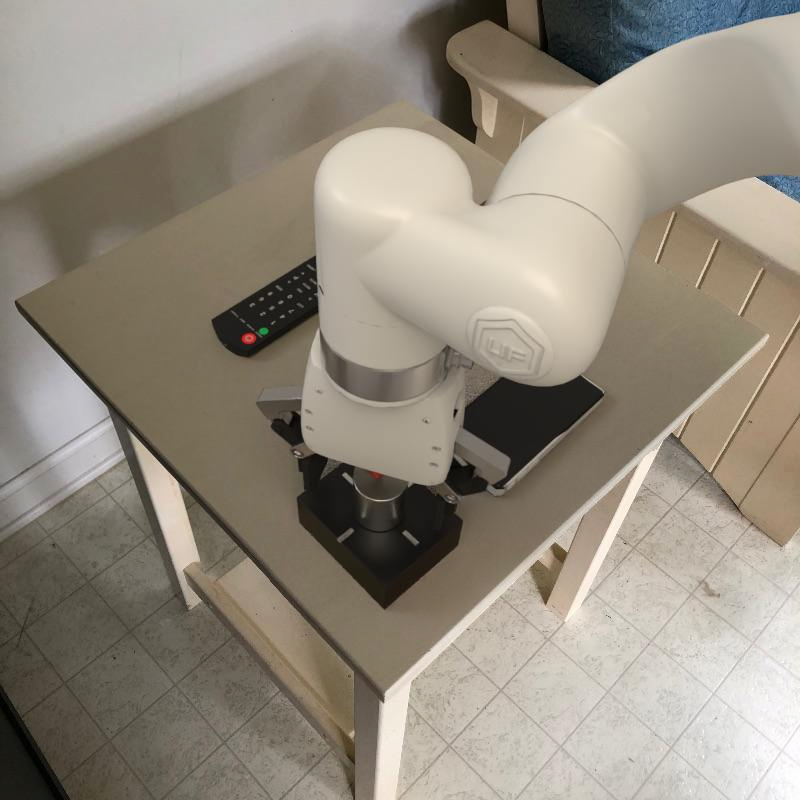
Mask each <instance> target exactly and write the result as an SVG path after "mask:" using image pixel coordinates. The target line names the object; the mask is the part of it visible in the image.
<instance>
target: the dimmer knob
mask: <svg viewBox="0 0 800 800" xmlns="http://www.w3.org/2000/svg"><path fill="white" fill-rule="evenodd" d="M408 482H409V481H405V480H401V479H398V478H394V477H391V476H387V475H384V474H380V473H377V472H373V471H370V470H367V469H363V468H360V467H357V466H356V467H355V469H354V472H353V513H354V516H355V518H356V520H357V521H358V522H359V523H360V524H361V525H362V526H363V527H365V528H367V529H369V530H372V531H378V532H381V531H387V530H390V529H393V528H394V527H396V526H397V525H399V524H400V523H401V521H402V520H403V518H404V516H405V513H406V503H407V493H408Z"/></svg>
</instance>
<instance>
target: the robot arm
mask: <svg viewBox="0 0 800 800" xmlns="http://www.w3.org/2000/svg"><path fill="white" fill-rule="evenodd" d="M764 176H789V177H797V178H800V11H798V12H794V13H788V14H783V15H776V16H769V17H765V18H759V19H755V20H752V21H749V22H746V23H745V22H744V23H742V24H738V25H735V26H734V25H733V26H730V27H728V28H723V29H720V30H716V31H715V30H714V31H711V32H707V33H704V34H701V35H696V36H693V37H690V38H687V39H684V40H681V41H679V42H676V43H674V44H672V45H670V46H667V47H664V48H663V49H660V50H658V51H657V52H654V53H652V54H650V55H648V56H646V57H644V58H642V59H641V60H640V61H637V62H635V63H634V64H632V65H631V66H629V67H627V68H626V69H624V70H622V71H620V72H618V73H617V74H615V75H614V76H612V77H611V78H609V79H607V80H606V81H604V82H603V83H601V84H600V85H598V86H596V87H595V88H593V89H591V90H590V91H587V93H585V94H583V95H581V96H580V97H578V98H577V99H575V100H574V101H572V102H570V103H569V104H567V105H565V106H564V107H563V108H561V109H559V110H558V111H556V112H555V113H553V114H552V115H550V116H549V117H548V118H547V119H545V120H544V121H542V122H541V124H539V125H538V126H537V127H535V129H533V130H532V131H531V132H530V133H529V134H528V135H527V136H526V137H525V138H524V139H523V140H522V141H521V143H520V144H519V145H518V146H517V148H516V149H515V150H514V151H513V153H512V154H511V155H510V158H509V159H508V161H507V162H506V164H505V166H504V167H503V169H502V170H501V172H500V174H499V176H498V177H497V180H496V182H495V183H494V185H493V187H492V189H491V190H490V193H489V195H488V197H487V199H486V200H487V201H486V200H485V201H486V203H485V205H484V206H480V204H478V203H476V202H475V200H474V188H473V181H472V178H471V175H470V171H469V169H468V166H467V165H466V163H465V161H464V160H463V158H461V156H460V155H459V154H458V152H457V151H456V150H454V148H453V147H452V146H451V145H449V144H448V143H446V142H445V141H443V140H442V139H440V138H437V137H436V136H433V135H431V134H430V133H427V132H423V131H421V130H416V129H412V128H407V127H398V126H384V127H374V128H370V129H366V130H362V131H359V132H356V133H353V134H351V135H348V136H346V137H345V138H344V139H342V140H340V141H339V142H337V143H336V144H335V145H334V146H333V147H331V149H330V150H329V151H328V152H327V153H326V155H325V156H324V157H323V158H322V160H321V163H320V164H319V167H318V168H317V171H316V173H315V179H314V183H313V185H314V186H313V215H314V216H313V217H314V238H315V240H314V241H315V255H316V264H317V286H318V306H319V310H318V326H319V327H318V328H317V330H316V333H315V335H314V339H313V341H312V344H311V348H310V349H309V350H310V351H309V354H308V360H307V362H306V368H305V372H304V373H305V374H304V380H303V384H300V385H285V386H268V387H263V388H262V390H261V392H260V393H259V395H258V397H257V400H256V401H255V405H256V407H257V408H258V410H259V411H260V412H261V414H262V415H263V416H264V417H265V418H266V420H268V421H269V422H271V424H270V428H271V430H272V431H273V432H274V433H275V434H277V435H278V436H279V437H280V438H281V439H282V440H283V441H285V442H286V443H287V444H289V445H290V448H289V450H288V451H289V453H290V455H291V456H293V457H294V458H296V459H297V468H298V472H299V473H302V479H303V480H302V481H303V490H304V491H310V492H312V490H313V491H315V489H316V487H317V484H318V482H319V480H320V479H322V475H323V473H324V471H325V468H326V466H327V464H328V460H329V459H331V460H333V461H337V462H341V463H347V464H350V465H353V466H357V467H360V468H363V469H367V470H370V471H373V472H377V473H380V474H384V475H387V476H391V477H394V478H398V479H401V480H405V481H409V482H412V483H416V484H421V485H425V486H428V487H429V486H431V487H432V489H433V490H435V492H436V494H435V495H436V498H435V502H434V507H433V513H432V519H431V526H432V527H433V529H436V530H440V528H441V525H442V521H443V518H444V515H446V516H449V517H454V514H456V510H457V508H458V504H460V502H461V500H462V497H466V496H470V495H475V494H481V493H484V492H485V493H486V491H487V486H489V485H491V484H492V485H493V484H495V483H496V482H498V481H500V480H502V479H503V478H505V477H506V476H507V472H508V468H509V465H510V458H509V457H508V456H506V455H505V454H503V453H502V452H500V451H498V450H497V449H495V448H494V447H492V446H490V445H489V444H487V443H486V442H484V441H482V440H481V439H479V438H478V437H476V436H474V435H473V434H471V433H470V432H468V431H467V430H465V429H463V421H464V411H465V407H466V397H467V396H466V394H467V389H466V388H467V387H466V385H467V384H466V369H467V370H469V371H472V369H473V367H474V364H477V365H478V366H480V367H482V368H484V369H486V370H488V371H490V372H492V373H493V374H495V375H497V376H500V377H505V378H507V379H510V380H512V381H515V382H518V383H522V384H527V385H532V386H555V385H559V384H564V383H566V382H568V381H571V380H573V379H575V378H576V377H578V376H579V375H580V374H581V375H582V374H583V373H584V372H585V371H586V370H587V369H588V368H589V367H590V366H591V364H592V363H593V362H594V360H595V359H596V358H597V355H598V353H599V351H600V350H601V348H602V345H603V343H604V341H605V338H606V336H607V333H608V329H609V327H610V324H611V321H612V317H613V314H614V313H615V312H614V311H615V309H616V305H617V302H618V300H619V297H620V293H621V290H622V287H623V284H624V281H625V279H626V278H625V277H626V274H627V271H628V269H629V265H630V263H631V259H632V257H633V253H634V250H635V247H636V245H637V241H638V239H639V236H640V233H641V230H642V228H643V225H644V223H645V222H647V221H649V220H651V219H652V218H655V217H656V216H658V215H660V214H662V213H664V212H666V211H668V210H671V209H672V208H675V207H677V206H679V205H681V204H683V203H685V202H687V201H689V200H692V199H695V198H696V197H698V196H701V195H703V194H705V193H707V192H710V191H713V190H715V189H717V188H722V187H723V186H726V185H728V184H729V185H730V184H732V183H735V182H739V181H742V180H746V179H751V178H757V177H764ZM299 412H300V414H299ZM463 459H464V460H465V461H467V462H469V463H470V464H469V465H468V464H467V463H466V462H465V461H464V460H463Z"/></svg>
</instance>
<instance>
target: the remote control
mask: <svg viewBox="0 0 800 800" xmlns="http://www.w3.org/2000/svg"><path fill="white" fill-rule="evenodd" d="M318 311H319V306H318V286H317V264H316V254H315V255H313V256H311V257H310V258H309V259H307V260H305V261H304V262H302V263H300V264H299V265H297V266H296V267H294V268H292V269H291V270H289V271H287V272H286V273H284V274H283V275H281V276H280V277H278V278H276V279H275V280H273V281H271V282H270V283H268V284H266V285H265V286H263V287H261V288H260V289H258V290H257V291H255V292H253V293H252V294H250V295H249V296H247V297H245V298H244V299H242V300H241V301H239V302H237V303H236V304H234V305H232V306H231V307H229V308H227V309H225V310H224V311H223V312H221V313H219V314H217V316H215V317H213V318H211V320H210V321H211V325H212V327H213V330H214V333H215V335H216V337H217V339H218V341H219V342H220V343H221V344H222V346H224V348H225V349H226V350H228V351H229V352H231V353H233V355H235V356H242V357H249V356H251V355H252V354H254V353H256V352H257V351H259V350H260V349H262V348H263V347H264V346H266V345H268V344H269V343H270V342H272V341H273V340H276V339H277V338H278V337H279V336H281V335H283V334H284V333H285V332H287V331H289V330H290V329H291V328H293V327H295V326H296V325H298V324H299V323H301V322H302V321H304V320H306V319H307V318H308V317H310V316H311V315H313V314H314V313H316V312H318Z"/></svg>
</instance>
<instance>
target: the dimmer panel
mask: <svg viewBox="0 0 800 800" xmlns="http://www.w3.org/2000/svg"><path fill="white" fill-rule="evenodd" d="M355 467H356V466H353V465H350V464H347V463H343V462H341V463H340V464H339V465H337V466H336V467H335V468H333V469H332V470H331V471H330V472H328V473H327V474H325V475H324V476H322V477H321V478H320V480H319V482H318V484H317V487H316V489H315V491H313V490H312V492H310V491H306V490H304V491H303V492H301V493H300V494H298V496H296V506H297V513H298V521H299V524H300V525H301V526H302V527H303V528H304V529H305V530H306V531H307V532H308V533H309V535H311V536H312V537H313V539H315V540H316V541H317V542H318V543H319V545H320V546H321V547H322V548H324V550H325V551H326V552H328V554H329V555H330V556H331V557H332V558H333V559H334V560H335V561H336V562H337V563H338V564H339V565H340V566H341V567H342V568H343V569H344V570H345V571H346V573H347V574H349V575H350V576H351V577H352V578H353V580H355V581H356V583H358V584H359V586H360V587H361V588H362V589H363V590H364V591H365V592H366V593H367V594H368V595H369V596H370V597H371V598H372V599H373V600H374V601H375V602H376V603H377V604H378V605H379V607H381V608H382V609H383V610H387V609H388V608H389V607H390V606H391V605H392V604H393V603H394V602H395V601H396V600H397V599H399V598H400V597H401V596H402V595H404V593H406V592H407V591H408V590H409V589H410V588H411V587H412V586H413V585H415V584H416V583H417V582H418V581H419V580H420V579H421V578H423V577H424V576H425V575H426V574H427V573H428V572H430V570H432V569H433V568H434V567H435V566H437V565H438V564H439V563H440V562H441V561H442V560H443V559H444V558H446V556H448V555H449V554H450V553H451V552H452V551H453V550H454V549H456V548H457V547H458V546H459V543H460V538H461V533H462V529H463V524H464V519H462V518H461V517H460V516H459V515H457V513H455V514H454V517H449V516H446V515H444V518H443V521H442V525H441V528H440V530H436V529H433V527H432V526H431V519H432V513H433V507H434V502H435V498H436V495H437V494H435V493H434V492H432V491H431V489H429V488H428V486H427V485H421V484H416V483H412V482H408V493H407V503H406V513H405V516H404V518H403V520H402V521H401V523H400V524H399V525H397V526H396V527H394V528H393V529H390V530H387V531H381V532H378V531H372V530H369V529H367V528H365V527H363V526H362V525H361V524H360V523H359V522H358V521H357V520H356V518H355V516H354V513H353V472H354V469H355Z"/></svg>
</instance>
